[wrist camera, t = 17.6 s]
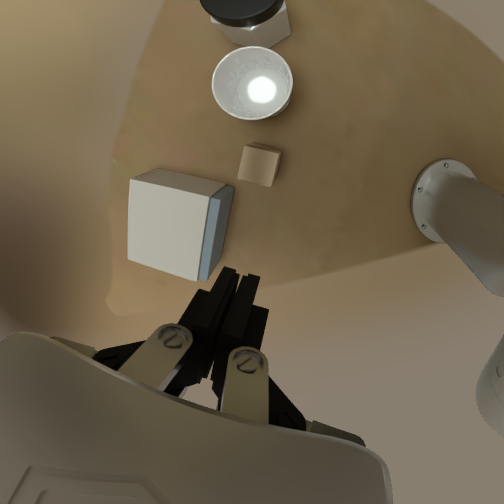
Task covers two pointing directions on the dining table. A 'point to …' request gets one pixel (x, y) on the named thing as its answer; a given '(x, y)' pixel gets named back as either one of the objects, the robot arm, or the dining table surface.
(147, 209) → the housing
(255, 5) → the jar
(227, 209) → the blue-grey open box
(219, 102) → the white cup
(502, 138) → the dining table surface
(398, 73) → the dining table surface
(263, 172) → the beige block
